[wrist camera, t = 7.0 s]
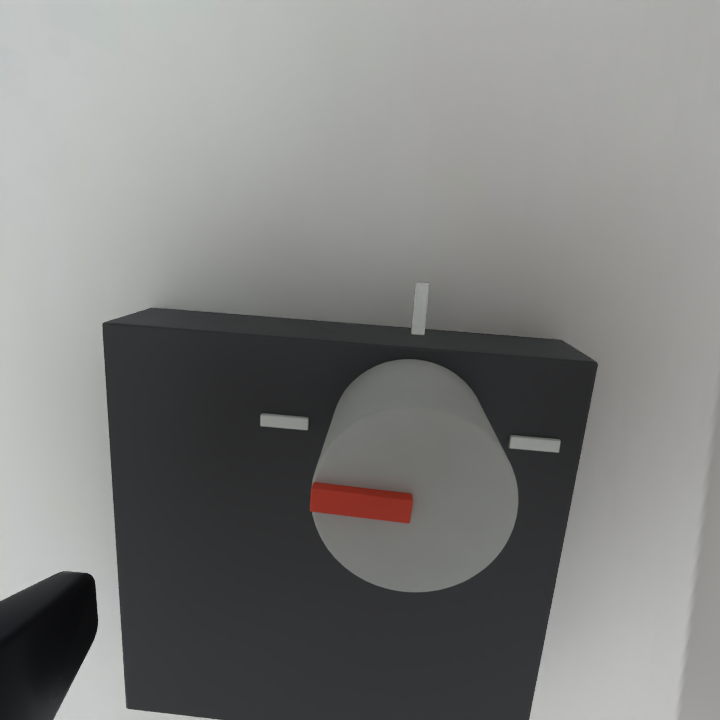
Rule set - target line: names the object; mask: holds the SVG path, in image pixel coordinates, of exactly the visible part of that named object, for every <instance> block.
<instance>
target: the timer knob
mask: <svg viewBox="0 0 720 720" xmlns="http://www.w3.org/2000/svg"><path fill="white" fill-rule="evenodd" d="M310 511H311V512H312V515H313V518H314V522H315V525H316V528H317V530H318V532H319V535H320V537H321V539H322V540H323V542H324V544H325V545H326V547H327V549H328V550H329V551H330V552H331V554H332V555H333V556H334V557H335V558H336V559H337V560H338V561H339V562H340V563H341V564H342V565H343V566H344V567H345V568H346V569H348V570H349V571H350V572H352V573H353V574H355V575H356V576H358V577H360V578H362V579H363V580H365V581H367V582H370V583H372V584H374V585H377V586H380V587H383V588H387V589H391V590H396V591H402V592H429V591H435V590H441V589H445V588H448V587H452V586H454V585H457V584H459V583H462V582H464V581H466V580H468V579H470V578H471V577H473V576H475V575H476V574H478V573H479V572H481V571H482V570H483V569H485V568H486V567H487V566H488V565H489V564H490V563H491V562H492V561H493V560H494V559H495V558H496V557H497V556H498V554H499V553H500V552H501V551H502V549H503V548H504V546H505V544H506V543H507V541H508V539H509V537H510V535H511V533H512V530H513V528H514V524H515V521H516V517H517V511H518V488H517V482H516V478H515V475H514V472H513V469H512V466H511V464H510V462H509V460H508V458H507V456H506V454H505V452H504V450H503V448H502V446H501V444H500V442H499V440H498V438H497V436H496V434H495V432H494V430H493V428H492V426H491V425H490V423H489V421H488V419H487V417H486V415H485V413H484V411H483V409H482V407H481V405H480V403H479V401H478V399H477V397H476V395H475V394H474V392H473V391H472V389H471V388H470V387H469V386H468V385H467V384H466V383H465V381H464V380H462V379H461V378H460V377H459V376H458V375H456V374H455V373H453V372H452V371H450V370H448V369H447V368H445V367H442V366H440V365H438V364H435V363H432V362H428V361H423V360H417V359H402V360H394V361H389V362H385V363H382V364H380V365H377V366H375V367H373V368H371V369H369V370H367V371H366V372H364V373H363V374H361V375H360V376H358V377H357V378H356V379H355V380H354V381H353V382H352V383H351V384H350V385H349V386H348V387H347V389H346V390H345V391H344V393H343V394H342V396H341V398H340V400H339V402H338V404H337V406H336V409H335V412H334V415H333V418H332V421H331V424H330V427H329V430H328V433H327V436H326V439H325V442H324V445H323V448H322V451H321V455H320V458H319V461H318V464H317V467H316V470H315V473H314V476H313V481H312V487H311V498H310Z"/></svg>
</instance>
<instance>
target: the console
mask: <svg viewBox="0 0 720 720" xmlns="http://www.w3.org/2000/svg"><path fill="white" fill-rule="evenodd" d="M429 285H430V284H429V283H421V282H416V286H415V297H414V307H413V318H412V328H402V327H389V326H376V325H364V324H351V323H338V322H326V321H313V320H300V319H287V318H275V317H262V316H249V315H237V314H224V313H211V312H198V311H186V310H173V309H160V308H149V309H146V310H143V311H140V312H136V313H133V314H130V315H127V316H124V317H120V318H117V319H114V320H111V321H107V322H104V323H103V325H102V326H103V342H104V358H105V374H106V390H107V406H108V422H109V438H110V454H111V470H112V486H113V502H114V518H115V534H116V550H117V566H118V582H119V598H120V614H121V630H122V646H123V662H124V678H125V694H126V708H128V709H134V710H143V711H151V712H160V713H168V714H177V715H185V716H194V717H203V718H211V719H220V720H529V717H530V712H531V707H532V701H533V696H534V691H535V686H536V681H537V676H538V670H539V665H540V660H541V655H542V650H543V645H544V640H545V634H546V629H547V624H548V619H549V614H550V609H551V603H552V598H553V593H554V588H555V583H556V578H557V572H558V567H559V562H560V557H561V552H562V547H563V541H564V536H565V531H566V526H567V521H568V516H569V511H570V505H571V500H572V495H573V490H574V485H575V480H576V474H577V469H578V464H579V459H580V454H581V449H582V443H583V438H584V433H585V428H586V423H587V418H588V412H589V407H590V402H591V397H592V392H593V387H594V382H595V376H596V371H597V366H598V364H597V362H596V361H594V360H593V359H591V358H589V357H588V356H586V355H585V354H583V353H582V352H580V351H578V350H577V349H575V348H574V347H572V346H570V345H569V344H567V343H566V342H564V341H562V340H555V339H542V338H529V337H516V336H504V335H491V334H478V333H466V332H453V331H440V330H427V329H425V324H426V314H427V305H428V295H429ZM402 359H417V360H423V361H428V362H432V363H435V364H438V365H440V366H442V367H445V368H447V369H448V370H450V371H452V372H453V373H455V374H456V375H458V376H459V377H460V378H461V379H462V380H464V381H465V383H466V384H467V385H468V386H469V387H470V388H471V389H472V391H473V392H474V394H475V395H476V397H477V399H478V401H479V403H480V405H481V407H482V409H483V411H484V413H485V415H486V417H487V419H488V421H489V423H490V425H491V426H492V428H493V430H494V432H495V434H496V436H497V438H498V440H499V442H500V444H501V446H502V448H503V450H504V452H505V454H506V456H507V458H508V460H509V462H510V464H511V466H512V469H513V472H514V475H515V478H516V482H517V488H518V511H517V517H516V521H515V524H514V528H513V530H512V533H511V535H510V537H509V539H508V541H507V543H506V544H505V546H504V548H503V549H502V551H501V552H500V553H499V554H498V556H497V557H496V558H495V559H494V560H493V561H492V562H491V563H490V564H489V565H488V566H487V567H486V568H485V569H483V570H482V571H481V572H479V573H478V574H476V575H475V576H473V577H471V578H470V579H468V580H466V581H464V582H462V583H459V584H457V585H454V586H452V587H448V588H445V589H441V590H435V591H429V592H402V591H396V590H391V589H387V588H383V587H380V586H377V585H374V584H372V583H370V582H367V581H365V580H363V579H362V578H360V577H358V576H356V575H355V574H353V573H352V572H350V571H349V570H348V569H346V568H345V567H344V566H343V565H342V564H341V563H340V562H339V561H338V560H337V559H336V558H335V557H334V556H333V555H332V554H331V552H330V551H329V550H328V549H327V547H326V545H325V544H324V542H323V540H322V539H321V537H320V535H319V532H318V530H317V528H316V525H315V522H314V518H313V515H312V512H311V511H310V498H311V487H312V481H313V476H314V473H315V470H316V467H317V464H318V461H319V458H320V455H321V451H322V448H323V445H324V442H325V439H326V436H327V433H328V430H329V427H330V424H331V421H332V418H333V415H334V412H335V409H336V406H337V404H338V402H339V400H340V398H341V396H342V394H343V393H344V391H345V390H346V389H347V387H348V386H349V385H350V384H351V383H352V382H353V381H354V380H355V379H356V378H357V377H358V376H360V375H361V374H363V373H364V372H366V371H367V370H369V369H371V368H373V367H375V366H377V365H380V364H382V363H385V362H389V361H394V360H402Z"/></svg>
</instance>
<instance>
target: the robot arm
mask: <svg viewBox="0 0 720 720" xmlns="http://www.w3.org/2000/svg"><path fill="white" fill-rule="evenodd" d="M97 627H98V614H97V601H96V588H95V580H94V578H93V576H92V575H90V574H88V573H80V572H71V571H63V572H59V573H57V574H55V575H53V576H51V577H49V578H47V579H45V580H43V581H41V582H39V583H37V584H35V585H33V586H30V587H28V588H26V589H24V590H22V591H20V592H18V593H16V594H14V595H12V596H10V597H8V598H6V599H4V600H2V601H0V720H53V719H54V717H55V715H56V713H57V711H58V709H59V707H60V705H61V704H62V702H63V700H64V698H65V696H66V694H67V692H68V690H69V688H70V686H71V684H72V682H73V680H74V678H75V676H76V674H77V672H78V670H79V668H80V666H81V664H82V662H83V661H84V659H85V657H86V655H87V653H88V651H89V649H90V647H91V645H92V643H93V641H94V638H95V635H96V632H97Z"/></svg>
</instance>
